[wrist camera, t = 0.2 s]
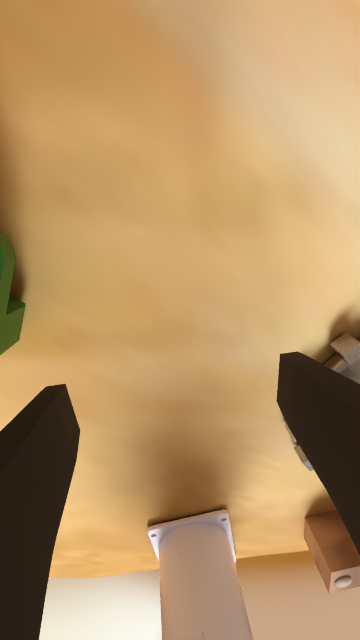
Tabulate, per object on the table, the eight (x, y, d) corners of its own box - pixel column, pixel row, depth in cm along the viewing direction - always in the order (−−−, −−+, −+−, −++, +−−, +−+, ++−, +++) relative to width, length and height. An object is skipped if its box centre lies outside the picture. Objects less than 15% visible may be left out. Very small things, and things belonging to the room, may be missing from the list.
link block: (358, 504, 32) (396, 560, 27) (355, 525, 33) (389, 581, 29) (304, 516, 32) (332, 575, 27) (303, 537, 33) (330, 596, 29)
